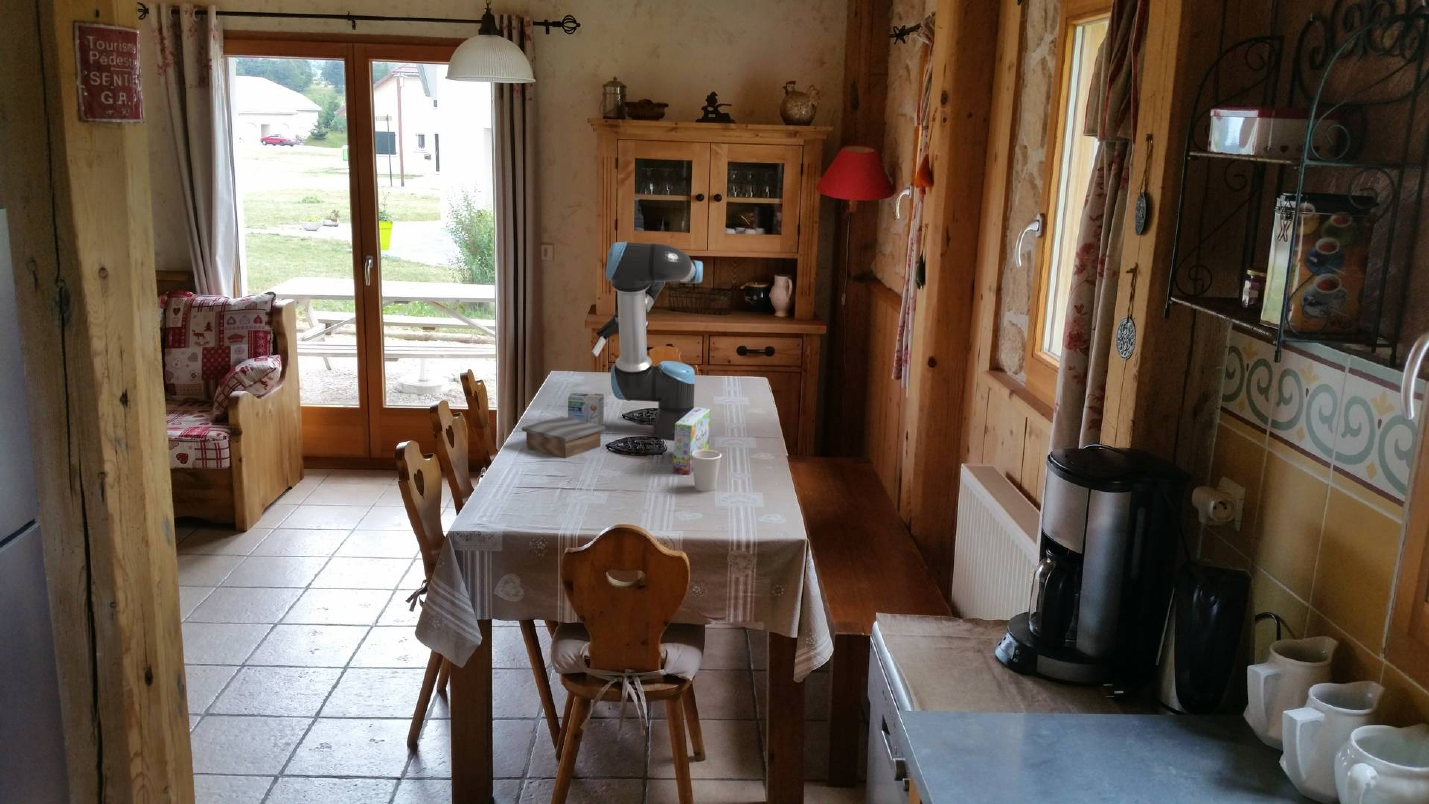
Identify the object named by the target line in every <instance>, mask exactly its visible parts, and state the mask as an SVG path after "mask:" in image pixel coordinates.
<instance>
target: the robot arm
mask: <svg viewBox="0 0 1429 804" xmlns="http://www.w3.org/2000/svg"><path fill="white" fill-rule="evenodd" d="M606 261H607V262H606V267H605V269H606V271H605V277H606V278H605V279H606V280H607V281H609V282H611V284H612V285H611V287H612V288H613V289H614V290H615V291H616V293H617V313H618V314H617V313H615V314H614V315H613V317H612V318H611V319H610V320H609V321H608V322H606V323H605V324H604V325H602V327H600V328H599V329H598V330H597V331H596V332H595V334H596V335H597V336H598V338H597V340H596V341H595V345H594V347H593V349H592V350H591V352H592V354H593V355H594V356H595V357H598V356H599V354H600V353H601V351H602V349H603V348H604V346H605V345H606V343H607V339H609V338H610V337H612V336H614V335H616V334H617V333H618V337H619V338H618V339H619V357H618V358H617V359H616V360H615V363H613V364H612V366H611V368H610V385H611V390H612V393H613V396H614V397H615V398H616V399H617V400H621V401H627V402H631V401H635V402H652V403H653V402H655V403H658V404H657V405H658V408H657V413H656V416H655V417H654V420H653V421H654V422H653V425H652V427H651V428H652V430H651V431H652V432H651V434H652V435H653V436H654V437H656V438H660V439H665V440H671V441H672V440H673V441H674V440H675V423H677V422H678V421H679V420H680V419H681V418H683V417H684V416H685V415H686V414H687V413H689V412H690V411H691V410H692V409H693V408H695V386H696V373H695V372H696V371H695V368H693V367H692V366H691V365H690V364H688V363H687V364H686V363H683V362H680V361H673V360H663V361H660V362H659V364H658V365H653V364H652V363H653V361H652V358H650V356H649V355H648V352H647V351H648V350H647V348H648V347H647V343H648V342H647V337H648V336H647V333H648V327H649V322H648V320H647V316H648V313H649V312H650V311H651V308H652V306H653V305H654V303H655V301H656V300H657V298H658V297H659V294H660V292H661V291H662V290H663V288H664V287H665V285H666V283H667V282H669V283H672V282H673V283H684V284H687V283H688V284H700V283H702V282H703V275H704V273H703V272H704V264H703V262H702V260H701V261H700V260H695V259H693V260H691V257H690V256H689V255H688V253H686V252H685V251H683V250H682V249H680V248H678V247H675V246H672V245H668V244H664V243H649V242H631V241H630V242H628V241H621V242H620V241H619V242H618V241H617V242H614V243H612V244H611V246H610V248H609V251H608V256H607V260H606Z"/></svg>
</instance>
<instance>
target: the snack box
mask: <svg viewBox="0 0 1429 804" xmlns="http://www.w3.org/2000/svg"><path fill="white" fill-rule="evenodd" d="M710 420H711V409H710V408H704V407H695V406H694V408H693V409H692V410H691V411H690V412H689V413H687V414H686V415H685V416H684V417H683V418H681V419H680V420H679V421H678V422H677V423H675V440H673V441H674V444H673V445H674V446H673V459H672V461H673V464H672V473H674V474H680V475H681V474H682V475H685V476H688V475H690V474H691V473H692V472H693V461H692V456H691V454H692V452H694V451H697V450H709V438H710V437H709V436H710Z"/></svg>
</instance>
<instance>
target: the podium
mask: <svg viewBox="0 0 1429 804" xmlns="http://www.w3.org/2000/svg"><path fill="white" fill-rule="evenodd" d="M604 430H606V426H605V425H603V426H602V425H598V424H593V423H589V422H585V421H580V420H576V419H572V418H568V416H561V415H560V416H557V417H554V418H551V419H547V420H543V421H541V422H537V423H534V424H533V423H532V424H530V425H526V426H522V427H521V432H525V433H526V434H525V435H526V438H525V439H526V443H525V444H526V447H525V448H526V449H529V450H534V451H538V452H541V453H545V454H549V455H552V456H556V457H560V458H563V457H564V459H567V458H570V457H573V456H576V455H579V454H582V452H583V453H585V452H588V451H591V449H592V450H594V449H598V448H600V447H601V440H602V439H601V437H602V435H601V432H602V431H604Z"/></svg>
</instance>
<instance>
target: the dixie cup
mask: <svg viewBox="0 0 1429 804" xmlns="http://www.w3.org/2000/svg"><path fill="white" fill-rule="evenodd" d="M691 456H692V461H693V471H692V472H693V479H694V489H695V490H696V491H699V492H703V493H707V492H708V493H709V492H714V491H715V490H716V487H717V482H718V481H717V480H718V476H719V474H718V473H719V468H720V463H721V458H722V453H721V452H719V451H716V450H711V449H708V450H697V451H694V452H692V454H691Z"/></svg>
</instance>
